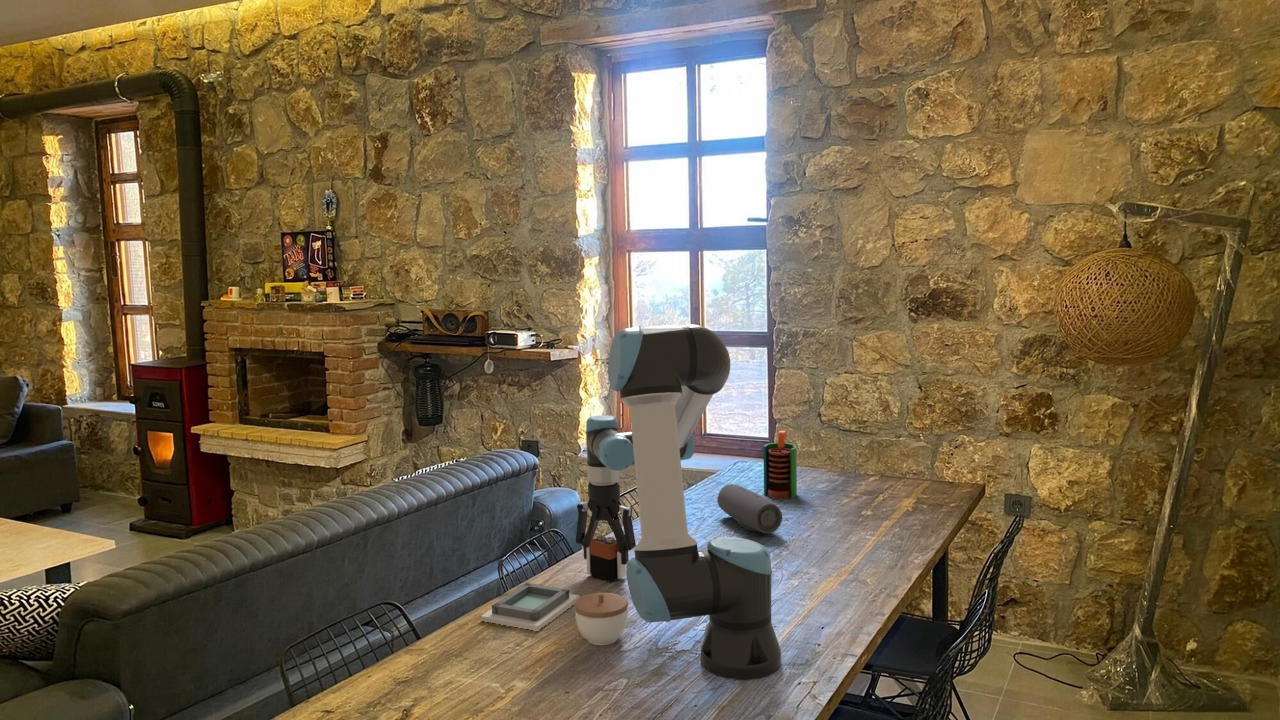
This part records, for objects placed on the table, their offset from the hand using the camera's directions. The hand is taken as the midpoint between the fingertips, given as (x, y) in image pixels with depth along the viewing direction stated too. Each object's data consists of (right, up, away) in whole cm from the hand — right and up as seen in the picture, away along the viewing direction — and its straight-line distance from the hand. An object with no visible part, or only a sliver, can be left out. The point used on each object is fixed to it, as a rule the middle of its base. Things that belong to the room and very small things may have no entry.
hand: (606, 574), depth 218 cm
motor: (+52, +9, +68) cm, 86 cm away
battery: (0, -1, 0) cm, 1 cm away
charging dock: (-16, -3, -19) cm, 25 cm away
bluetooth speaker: (+38, +5, +37) cm, 53 cm away
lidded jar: (0, -5, -34) cm, 34 cm away
